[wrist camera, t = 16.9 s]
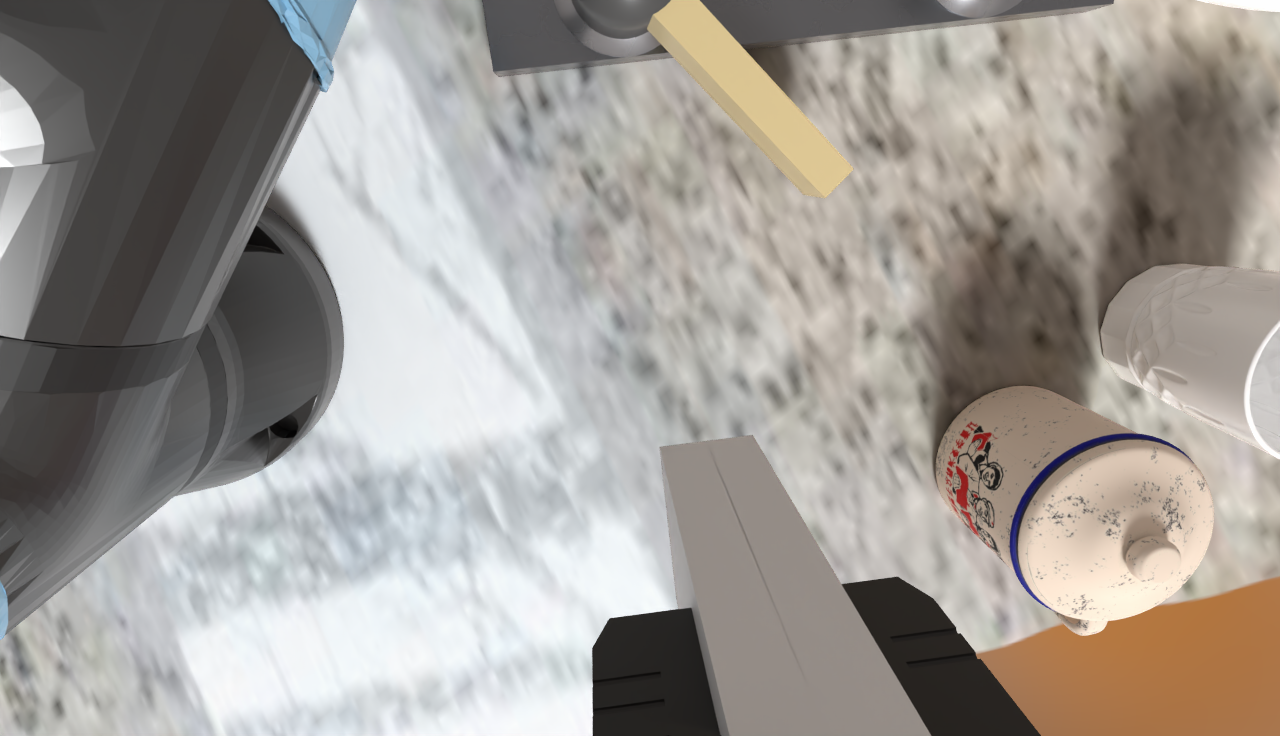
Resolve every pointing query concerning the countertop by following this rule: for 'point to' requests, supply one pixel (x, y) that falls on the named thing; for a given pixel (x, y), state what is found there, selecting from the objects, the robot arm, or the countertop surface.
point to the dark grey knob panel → (734, 26)
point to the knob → (728, 83)
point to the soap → (1249, 4)
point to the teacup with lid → (1075, 503)
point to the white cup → (1203, 345)
